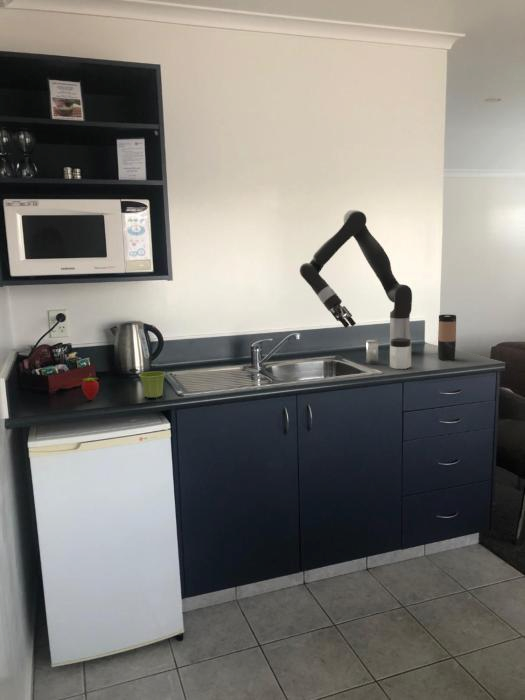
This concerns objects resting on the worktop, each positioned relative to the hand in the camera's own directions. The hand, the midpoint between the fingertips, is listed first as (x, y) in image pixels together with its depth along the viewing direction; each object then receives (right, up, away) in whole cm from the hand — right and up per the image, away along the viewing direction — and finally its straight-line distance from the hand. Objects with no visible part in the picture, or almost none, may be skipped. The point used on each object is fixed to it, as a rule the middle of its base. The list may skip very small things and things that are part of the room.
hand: (351, 325), depth 256 cm
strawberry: (-102, -29, -54) cm, 119 cm away
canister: (+9, -17, -2) cm, 19 cm away
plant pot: (-80, -28, -52) cm, 99 cm away
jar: (+19, -19, -14) cm, 30 cm away
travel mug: (+43, -15, 0) cm, 46 cm away
